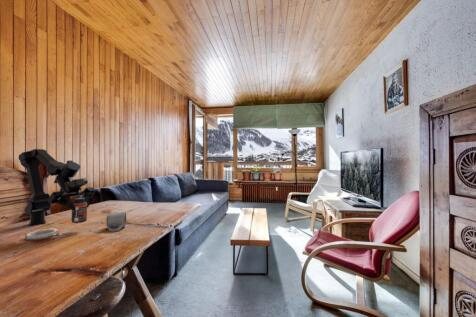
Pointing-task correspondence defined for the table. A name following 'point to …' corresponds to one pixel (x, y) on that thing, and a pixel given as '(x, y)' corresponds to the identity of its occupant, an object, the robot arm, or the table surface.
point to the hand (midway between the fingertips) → (81, 208)
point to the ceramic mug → (116, 221)
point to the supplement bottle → (79, 211)
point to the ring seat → (41, 234)
